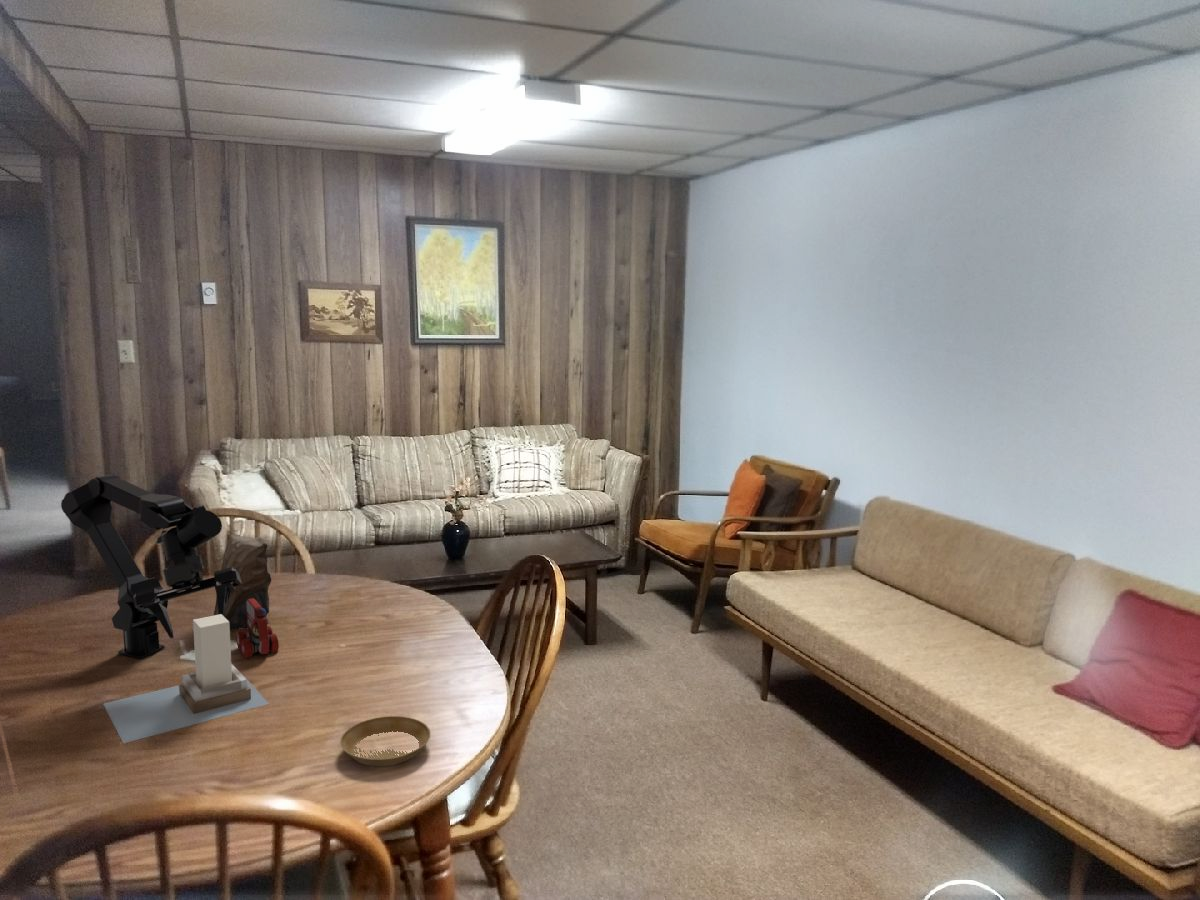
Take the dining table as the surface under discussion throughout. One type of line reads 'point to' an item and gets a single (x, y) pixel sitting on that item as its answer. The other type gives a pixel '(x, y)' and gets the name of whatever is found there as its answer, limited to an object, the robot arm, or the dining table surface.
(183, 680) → the brown open tray
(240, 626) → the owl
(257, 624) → the toy fire truck
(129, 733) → the blue-gray board
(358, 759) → the plant saucer
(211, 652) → the cream post
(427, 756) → the dining table surface
